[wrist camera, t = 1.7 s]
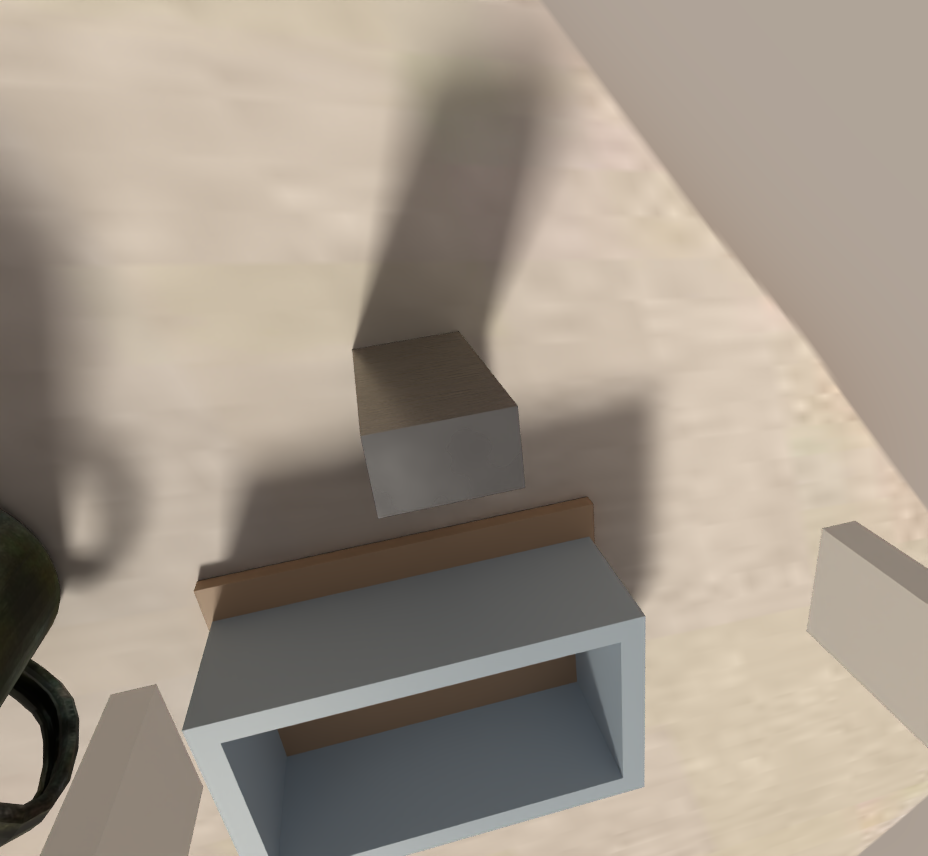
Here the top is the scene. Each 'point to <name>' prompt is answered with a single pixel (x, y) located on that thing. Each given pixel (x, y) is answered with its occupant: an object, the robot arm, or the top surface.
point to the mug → (33, 669)
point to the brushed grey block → (434, 424)
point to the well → (419, 688)
